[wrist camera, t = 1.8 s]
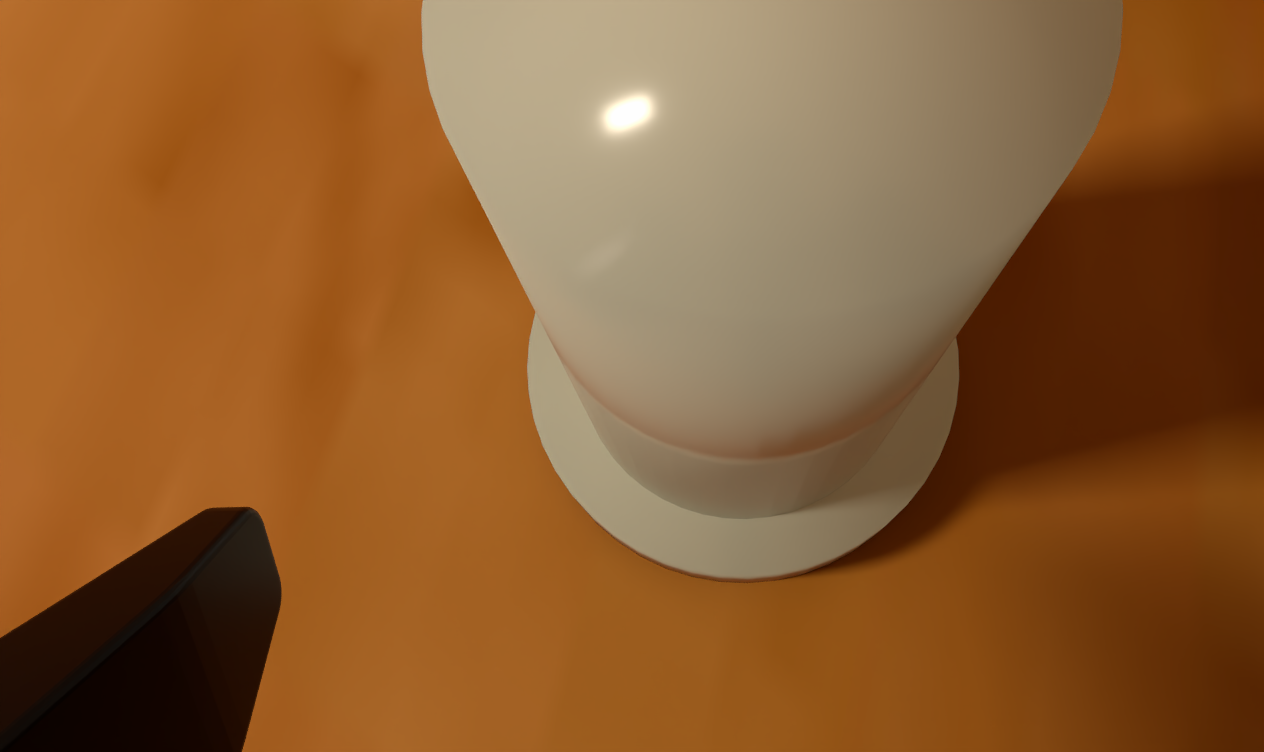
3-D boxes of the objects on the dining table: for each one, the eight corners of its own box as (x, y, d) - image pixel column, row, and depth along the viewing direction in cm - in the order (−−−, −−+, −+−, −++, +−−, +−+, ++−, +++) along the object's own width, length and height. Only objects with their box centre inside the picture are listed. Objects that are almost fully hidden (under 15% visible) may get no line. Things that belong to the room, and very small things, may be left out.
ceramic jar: (962, 578, 20) (1337, 427, 8) (538, 587, 20) (276, 461, 8) (923, 187, 22) (1168, -401, 10) (541, 206, 22) (339, -329, 11)
